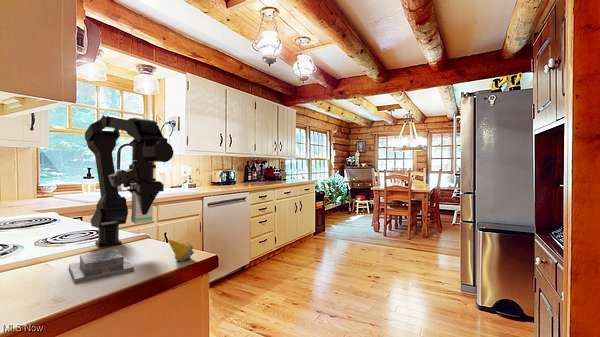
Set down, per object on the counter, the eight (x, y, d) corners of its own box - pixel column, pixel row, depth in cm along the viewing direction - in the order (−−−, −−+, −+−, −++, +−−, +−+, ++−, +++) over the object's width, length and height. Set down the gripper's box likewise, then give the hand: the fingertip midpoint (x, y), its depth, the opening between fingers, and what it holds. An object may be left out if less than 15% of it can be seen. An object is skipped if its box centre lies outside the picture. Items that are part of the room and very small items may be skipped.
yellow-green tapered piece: (197, 262, 82) (173, 244, 76) (181, 268, 83) (157, 250, 77) (200, 247, 86) (178, 228, 80) (185, 253, 87) (162, 235, 82)
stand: (69, 268, 74) (69, 254, 74) (122, 258, 82) (122, 246, 82) (75, 283, 65) (75, 268, 65) (134, 270, 74) (134, 257, 74)
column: (131, 221, 86) (131, 191, 86) (147, 219, 89) (148, 190, 89) (135, 224, 83) (136, 192, 83) (152, 222, 86) (153, 192, 86)
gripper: (104, 159, 87) (103, 211, 87) (119, 161, 74) (118, 221, 74) (144, 160, 95) (143, 208, 95) (165, 162, 81) (163, 217, 82)
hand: (141, 213), depth 86 cm, fingers closed on column, 4 cm apart
